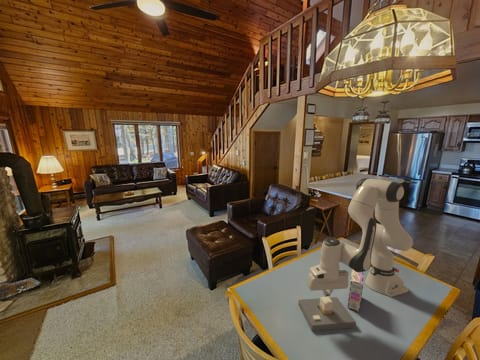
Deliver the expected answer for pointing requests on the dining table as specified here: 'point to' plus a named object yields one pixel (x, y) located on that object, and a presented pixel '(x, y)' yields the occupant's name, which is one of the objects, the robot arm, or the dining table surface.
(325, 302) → the cream and tan block
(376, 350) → the dining table surface
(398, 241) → the robot arm
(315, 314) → the socket
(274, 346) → the dining table surface
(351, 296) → the candy box
